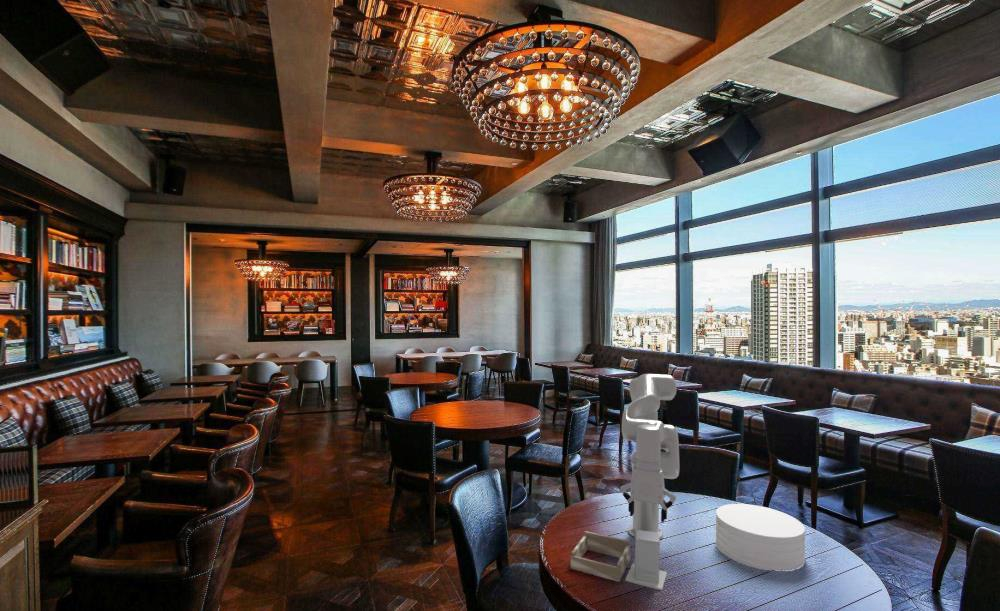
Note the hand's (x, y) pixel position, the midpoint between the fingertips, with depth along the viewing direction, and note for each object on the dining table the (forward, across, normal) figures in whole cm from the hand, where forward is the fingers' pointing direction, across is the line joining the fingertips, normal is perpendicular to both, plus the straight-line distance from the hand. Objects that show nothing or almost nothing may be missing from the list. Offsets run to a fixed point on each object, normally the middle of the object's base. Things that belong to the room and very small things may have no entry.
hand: (647, 517), depth 154 cm
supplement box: (+18, 0, -1) cm, 18 cm away
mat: (+19, 0, -1) cm, 19 cm away
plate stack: (+20, +32, +36) cm, 53 cm away
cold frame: (+19, -15, 0) cm, 24 cm away
